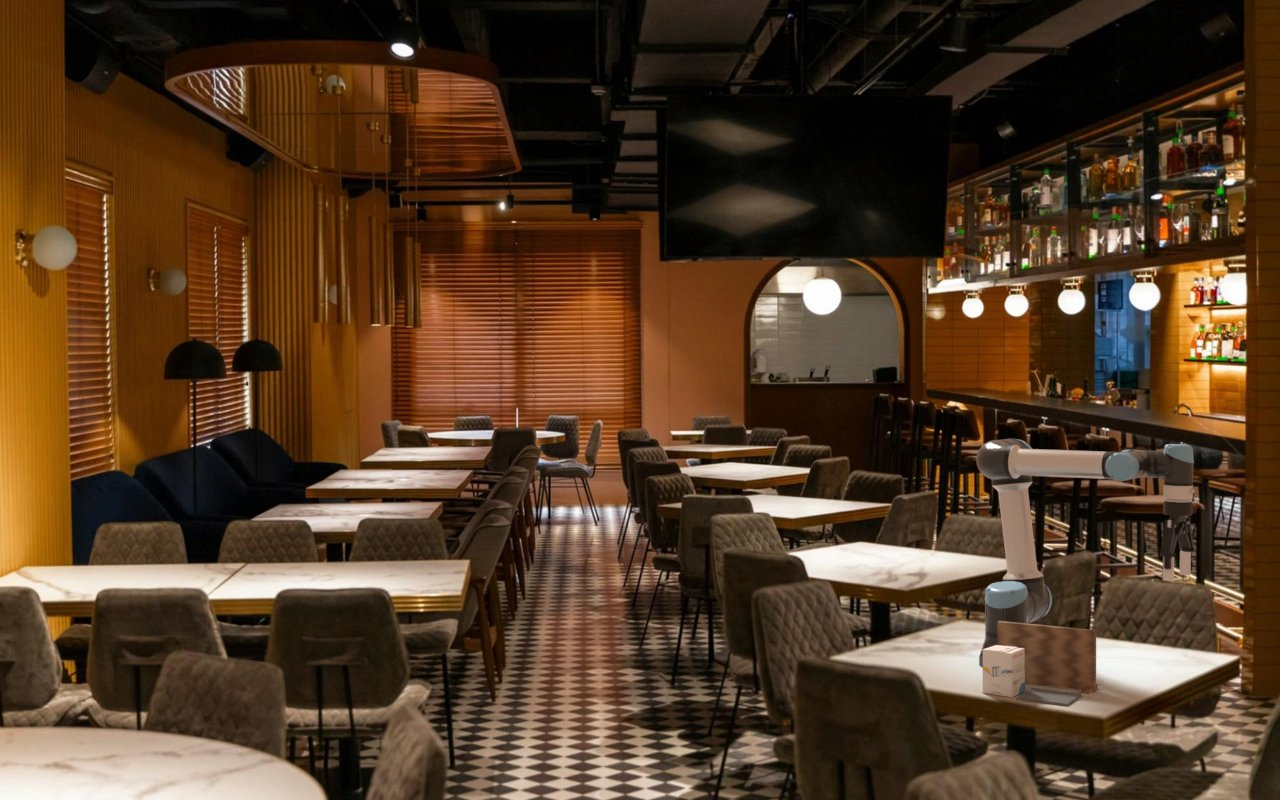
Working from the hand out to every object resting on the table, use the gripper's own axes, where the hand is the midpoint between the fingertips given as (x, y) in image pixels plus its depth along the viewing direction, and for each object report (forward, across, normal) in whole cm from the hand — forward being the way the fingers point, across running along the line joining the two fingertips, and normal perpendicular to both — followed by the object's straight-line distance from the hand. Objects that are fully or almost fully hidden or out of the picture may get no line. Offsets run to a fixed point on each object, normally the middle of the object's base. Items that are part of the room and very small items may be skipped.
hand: (1176, 578), depth 378 cm
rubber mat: (+28, -44, +17) cm, 55 cm away
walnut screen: (+28, -31, +24) cm, 48 cm away
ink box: (+28, -45, +29) cm, 61 cm away
